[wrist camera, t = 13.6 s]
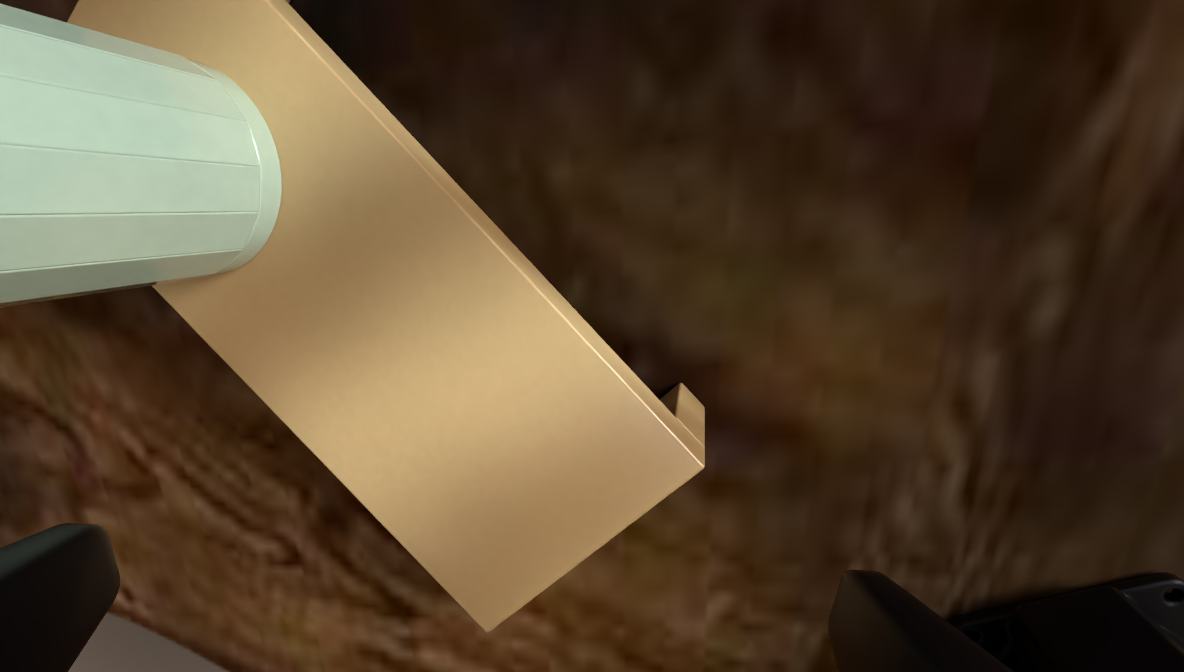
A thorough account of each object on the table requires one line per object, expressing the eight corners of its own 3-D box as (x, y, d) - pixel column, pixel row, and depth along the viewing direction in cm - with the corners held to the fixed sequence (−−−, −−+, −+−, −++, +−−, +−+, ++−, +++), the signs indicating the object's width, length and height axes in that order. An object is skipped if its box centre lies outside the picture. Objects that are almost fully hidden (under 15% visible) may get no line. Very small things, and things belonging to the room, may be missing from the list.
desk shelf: (705, 407, 19) (705, 468, 14) (531, 547, 21) (487, 634, 17) (279, -50, 18) (146, -129, 14) (151, 149, 21) (4, 134, 16)
